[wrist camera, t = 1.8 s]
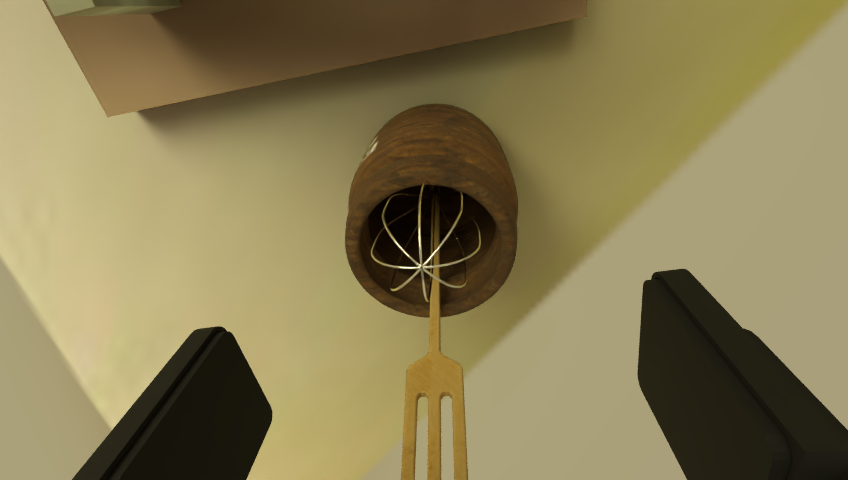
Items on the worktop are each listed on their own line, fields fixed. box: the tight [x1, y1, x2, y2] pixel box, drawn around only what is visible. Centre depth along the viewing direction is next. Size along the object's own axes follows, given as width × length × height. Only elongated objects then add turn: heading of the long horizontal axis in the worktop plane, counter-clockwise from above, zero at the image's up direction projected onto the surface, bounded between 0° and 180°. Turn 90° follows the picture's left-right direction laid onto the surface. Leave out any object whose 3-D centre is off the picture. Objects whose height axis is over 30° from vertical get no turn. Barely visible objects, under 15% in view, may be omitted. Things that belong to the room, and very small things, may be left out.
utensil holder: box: [345, 104, 518, 480], centre depth 13 cm, size 6×6×12 cm
